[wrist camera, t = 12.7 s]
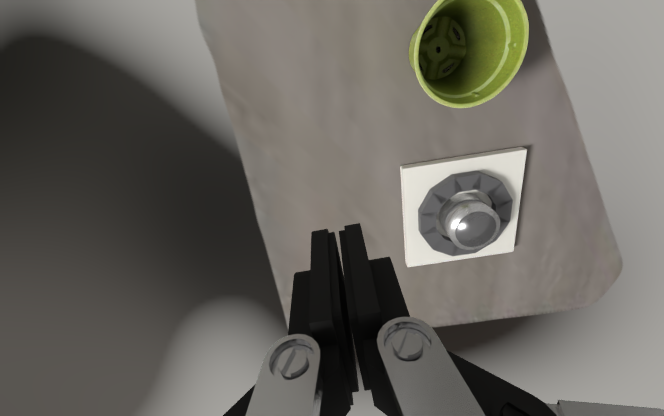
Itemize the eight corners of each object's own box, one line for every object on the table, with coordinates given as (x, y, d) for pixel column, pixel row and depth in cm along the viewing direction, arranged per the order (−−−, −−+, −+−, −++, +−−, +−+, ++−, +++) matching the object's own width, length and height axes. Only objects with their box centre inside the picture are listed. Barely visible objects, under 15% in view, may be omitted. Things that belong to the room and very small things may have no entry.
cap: (439, 196, 40) (452, 211, 36) (486, 189, 40) (504, 204, 36) (438, 236, 43) (450, 254, 39) (482, 229, 43) (498, 247, 39)
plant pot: (374, 43, 33) (392, 42, 26) (451, -28, 31) (496, -53, 23) (423, 112, 37) (451, 129, 29) (495, 53, 34) (548, 55, 26)
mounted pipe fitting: (400, 165, 39) (405, 172, 37) (521, 146, 39) (533, 152, 37) (405, 262, 46) (409, 272, 44) (508, 246, 46) (518, 256, 44)
